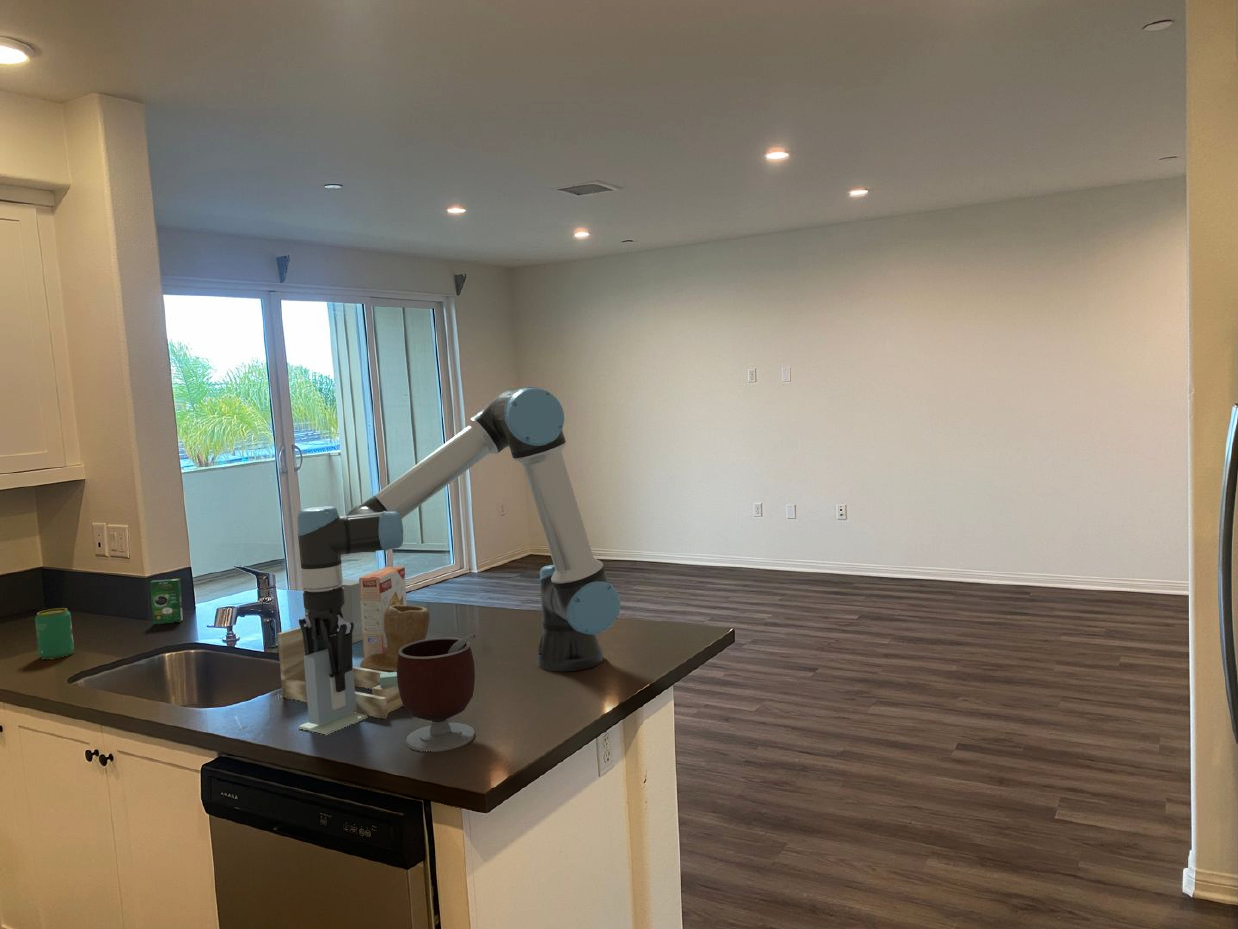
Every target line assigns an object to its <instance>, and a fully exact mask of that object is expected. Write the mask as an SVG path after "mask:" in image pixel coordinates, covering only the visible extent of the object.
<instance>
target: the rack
mask: <svg viewBox="0 0 1238 929" xmlns="http://www.w3.org/2000/svg"><path fill="white" fill-rule="evenodd" d="M276 634H277V645H278V646H277V647H278V658H279V659H278V660H279V667H280V668H279V669H280V680H281V681H280V682H281V691H282V693H281V694H282V698H283V697H285V699H288V700H293V699H296V700H295V701H297V700H300V701H299V702H302V701H303V702H304V703H307V692H306V680H305V668H304V656H305V649H304V642H303V635H302V630H301V627H300V626H298V627H295V628H291V629H288V630H284V631H281V632H278V633H276ZM353 673H354V686H355V687H357V688H358V687H359V688H363V687H364V688H363V689H368V688H369V690H372V688H374V687H376V686H379V685H380V674H381V673H389V672H388V671H379V670H372V669H366V668H361V667H360V666H359V667H358V666H354V665H353ZM355 699H356V710H355V711H352V712H356V713H360V714H365V715H369V716H368V717H372V716H373V717H372V718H377V719H381V718H385V719H387V718H388V717H389V716H388V714H387V701H386V697H381V696H376V695H373V694H369V693H365V692H359V691H355Z"/></svg>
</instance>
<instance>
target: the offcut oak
mask: <svg viewBox="0 0 1238 929" xmlns="http://www.w3.org/2000/svg"><path fill="white" fill-rule="evenodd" d="M401 706H403V703H402V700H401V697H400V698H397V699H395V700H393V701H391V702H388V703H387V713H389V712H390V711H393V712H395V711H397V710H399V709H400V708H399V707H401ZM403 707H404V706H403ZM398 708H399V709H398ZM401 708H402V707H401ZM396 709H397V710H396ZM394 710H395V711H394ZM389 714H390V713H389Z"/></svg>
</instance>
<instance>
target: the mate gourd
mask: <svg viewBox="0 0 1238 929" xmlns="http://www.w3.org/2000/svg"><path fill="white" fill-rule="evenodd" d="M475 638H476V633H471V634H468V635H467V636H465V637H463V638H460V637H433V638H427V639H426V638H425V640H420V641H416V642H412V643H409V644H407V645H404V646H403V647H401V648H400V649H399V651H398V653H399V655H398V661H397V683H398V689H399V693H400V697H401V700H402V703H403V707H404V708H405V709H406V710H407V711H408V712H409V713H410V715H411V716H412V717H414V718H416V719H420V720H421V719H422V720H424V721H425V720H426V721H431V724H429V725H426V726H423V727H419V728H418V729H414V730H413V731H412V732H410V733H409V734H408V735H407V737H406V741H405V742H406V746H407V747H408V748H409V749H411V748H412V749H411V750H413V749H414V750H413V751H416V752H417V750H418V752H423V751H424V752H425V751H426V752H425V753H430V751H431V753H434V752H444V751H449V750H453V749H457V748H460V747H462V746H464V745H467V744H468V743H470V742H471V741H472V740H473V739H474V738H475V730H474V727H472V726H471V725H468V724H466V723H465V724H464V723H460V722H448V719H450V718H452V717H454V716H456V715H459V714H460V713H462V712H463V711H465V710H466V708H467V707H468V704H470V701H471V700H472V699H473V697H474V696H473V695H474V691H475V683H476V682H475V680H476V669H475V668H476V667H475V661H474V656H473V651H472V648H471V642H469V640H471V639H475ZM428 751H429V752H428Z"/></svg>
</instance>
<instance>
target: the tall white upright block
mask: <svg viewBox="0 0 1238 929" xmlns="http://www.w3.org/2000/svg"><path fill="white" fill-rule="evenodd" d="M353 666H354V663H353V659H352V670H351V671H349V672H346V673H345V686H346V688H345V703H346V705H345V706H343V707H340V708H338V709H335V710H334V709H332V702H331V689H330V677H329V674H332V669H331V664H330V658H329V653H328V649H325V650H322V651H319V652H316V653H313V654H310V655H307V656H304V668H305V680H306V692H307V702H306V704H307V715H308V722H309V723H312V724H317V725H321V724H323V723H326V722H328V721H331V720H333V719H335V718H338V717H340V716H343V715H345V714H348V713H350V712H352V711H355V710H356V699H355V692H356V690H355V688H356V686H354V673H353Z"/></svg>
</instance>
